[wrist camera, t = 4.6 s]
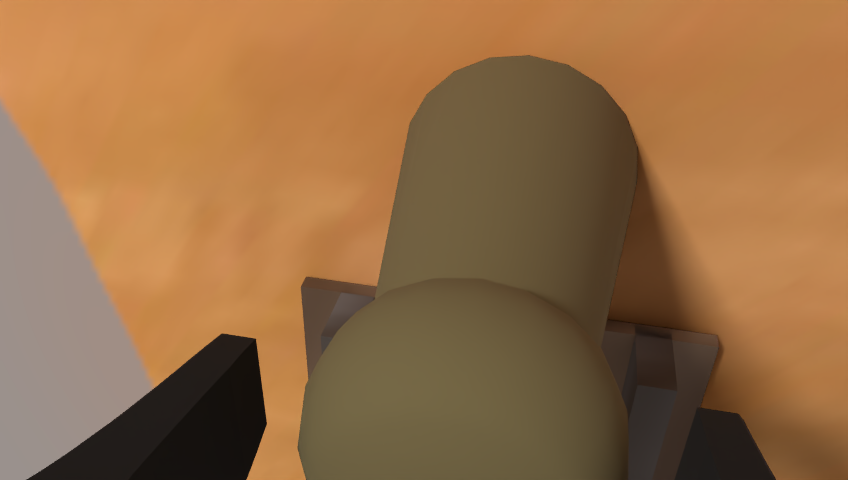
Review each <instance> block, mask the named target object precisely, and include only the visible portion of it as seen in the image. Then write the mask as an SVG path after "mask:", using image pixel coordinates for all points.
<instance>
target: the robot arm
mask: <svg viewBox="0 0 848 480" xmlns="http://www.w3.org/2000/svg"><path fill="white" fill-rule="evenodd" d="M266 425H267V422H266V414H265V406H264V398H263V391H262V383H261V375H260V367H259V360H258V352H257V344H256V339H254V338H248V337H241V336H235V335H228V334H221V335H219V336H218V337H217V338H216V339H214V340H213V341H212V342H210V343H209V344H208V345H207V346H205V347H204V348H203V349H202V350H201V351H199V352H198V353H197V354H196V355H194V356H193V357H192V358H191V359H190V360H188V361H187V362H186V363H185V364H184V365H182V366H181V367H180V368H179V369H177V370H176V371H175V372H174V373H173V374H171V375H170V376H169V377H168V378H166V379H165V380H164V381H163V382H161V383H160V384H159V385H158V386H157V387H155V388H154V389H153V390H152V391H150V392H149V393H148V394H146V395H145V396H144V397H143V398H141V399H140V400H139V401H137V402H136V403H135V404H134V405H132V406H131V407H130V408H129V409H127V410H126V411H125V412H123V413H122V414H121V415H120V416H118V417H117V418H116V419H114V420H113V421H112V422H110V423H109V424H108V425H106V426H105V427H103V428H102V429H101V430H99V431H98V432H96V433H95V434H94V435H92V436H91V437H90V438H88V439H87V440H85V441H84V442H82V443H81V444H80V445H78V446H77V447H76V448H74V449H73V450H71V451H70V452H68V453H67V454H66V455H64V456H63V457H61V458H60V459H58V460H57V461H55V462H54V463H52V464H51V465H49V466H48V467H46V468H45V469H43V470H41V471H40V472H38V473H37V474H35V475H33V476H32V477H30V478H29V479H27V480H246V479H247V477H248V474H249V471H250V469H251V466H252V464H253V461H254V458H255V456H256V453H257V450H258V447H259V445H260V442H261V439H262V436H263V433H264V430H265V427H266ZM674 480H776V479H775V477H774V475H773V474H772V472H771V470H770V468H769V467H768V465H767V463H766V461H765V459H764V458H763V456H762V454H761V452H760V450H759V448H758V447H757V445H756V443H755V441H754V439H753V437H752V435H751V434H750V432H749V430H748V428H747V426H746V424H745V422H744V420H743V419H742V418H741V417H740V415H739V414H737V413H730V412H724V411H717V410H711V409H705V408H698V407H697V409H696V413H695V416H694V419H693V422H692V425H691V428H690V432H689V435H688V438H687V441H686V444H685V448H684V451H683V454H682V457H681V460H680V463H679V467H678V470H677V473H676V476H675V479H674Z"/></svg>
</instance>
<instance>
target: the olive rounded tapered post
mask: <svg viewBox="0 0 848 480" xmlns="http://www.w3.org/2000/svg"><path fill="white" fill-rule="evenodd" d="M637 155H638V148H637V145H636V142H635V139H634V136H633V134H632V131H631V128H630V125H629V122H628V120H627V117H626V114H625V113H624V112H623V111H622V110H621V108H620V107H619V106H618V105H617V103H616V102H615V101H614V100H613V99H612V97H611V96H610V95H609V94H608V93H607V91H606V90H605V89H604V88H603V87H602V86H601V85H600V84H598V83H597V82H595V81H593V80H592V79H590V78H589V77H587V76H585V75H584V74H582V73H580V72H579V71H577V70H576V69H574V68H572V67H571V66H569V65H566V64H562V63H558V62H554V61H550V60H546V59H542V58H538V57H534V56H530V55H527V56H510V57H494V58H488V59H485V60H483V61H480V62H478V63H475V64H472V65H470V66H467V67H465V68H462V69H459V70H457V71H454V72H453V73H452V74H451V75H450V76H448V77H447V78H446V79H445V80H444V81H442V82H441V83H440V84H439V85H438V86H436V87H435V88H434V89H433V90H432V91H430V92H429V93H428V94H427V95H426V97H425V98H424V100H423V102H422V104H421V105H420V107H419V109H418V110H417V112H416V114H415V115H414V117H413V119H412V120H411V122H410V125H409V130H408V135H407V140H406V145H405V150H404V155H403V160H402V165H401V170H400V175H399V180H398V185H397V190H396V195H395V200H394V205H393V210H392V215H391V220H390V225H389V230H388V235H387V240H386V245H385V250H384V255H383V260H382V265H381V270H380V275H379V280H378V285H377V290H376V295H375V300H373V301H372V302H370V303H369V304H367V305H366V306H364V307H363V308H361V309H360V310H358V311H357V312H356V313H355V314H354V315H353V316H352V317H351V318H350V319H349V320H348V321H347V322H346V323H345V324H344V325H343V326H342V327H341V328H340V329H339V330H338V331H337V332H336V334H335V335H334V337H333V339H332V340H331V342H330V343H329V345H328V346H327V348H326V349H325V351H324V352H323V354H322V355H321V357H320V358H319V360H318V362H317V364H316V366H315V368H314V370H313V372H312V374H311V376H310V378H309V380H308V382H307V384H306V386H305V393H304V401H303V409H302V417H301V425H300V433H299V440H298V451H299V455H300V459H301V462H302V466H303V470H304V474H305V477H306V480H628V460H629V433H628V414H627V408H626V406H625V403H624V401H623V398H622V396H621V393H620V390H619V388H618V385H617V383H616V381H615V378H614V376H613V374H612V372H611V369H610V367H609V365H608V362H607V360H606V358H605V356H604V353H603V351H602V349H601V345H602V340H603V336H604V331H605V326H606V322H607V317H608V313H609V308H610V303H611V299H612V294H613V290H614V285H615V280H616V276H617V271H618V267H619V262H620V257H621V253H622V248H623V244H624V239H625V235H626V230H627V225H628V221H629V216H630V212H631V207H632V202H633V198H634V193H635V189H636V184H637Z"/></svg>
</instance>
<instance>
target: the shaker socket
mask: <svg viewBox="0 0 848 480" xmlns="http://www.w3.org/2000/svg"><path fill="white" fill-rule="evenodd" d="M376 290H377V287H375V286H368V285H361V284H354V283H347V282H340V281H333V280H326V279H319V278H312V277H306V278H305V280H304V282H303V284H302V286H301V293H302V305H303V318H304V330H305V342H306V355H307V367H308V379H309V378H310V376H311V374H312V372H313V370H314V368H315V366H316V364H317V362H318V360H319V358H320V357H321V355H322V354H323V352H324V351H325V349H326V348H327V346H328V345H329V343H330V342H331V340H332V339H333V337H334V335H335V334H336V332H337V331H338V330H339V329H340V328H341V327H342V326H343V325H344V324H345V323H346V322H347V321H348V320H349V319H350V318H351V317H352V316H353V315H354V314H355V313H356V312H357V311H358V310H360V309H361V308H363V307H364V306H366V305H367V304H369V303H370V302H372V301H373V300H375V295H376ZM601 349H602V351H603V353H604V356H605V358H606V360H607V362H608V365H609V367H610V369H611V372H612V374H613V376H614V378H615V381H616V383H617V385H618V388H619V390H620V393H621V396H622V398H623V401H624V403H625V406H626V408H627V414H628V433H629V460H628V480H674V479H675V476H676V473H677V470H678V467H679V463H680V460H681V457H682V454H683V451H684V448H685V444H686V441H687V438H688V435H689V432H690V428H691V425H692V422H693V419H694V416H695V413H696V409H697V407H698V408H700V406H701V403H702V400H703V397H704V393H705V390H706V387H707V384H708V381H709V378H710V374H711V371H712V368H713V365H714V362H715V359H716V356H717V352H718V349H719V343H718V338H717V335H711V334H704V333H697V332H690V331H683V330H676V329H669V328H662V327H655V326H648V325H641V324H634V323H627V322H620V321H613V320H607V322H606V326H605V331H604V336H603V340H602V345H601Z"/></svg>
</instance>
